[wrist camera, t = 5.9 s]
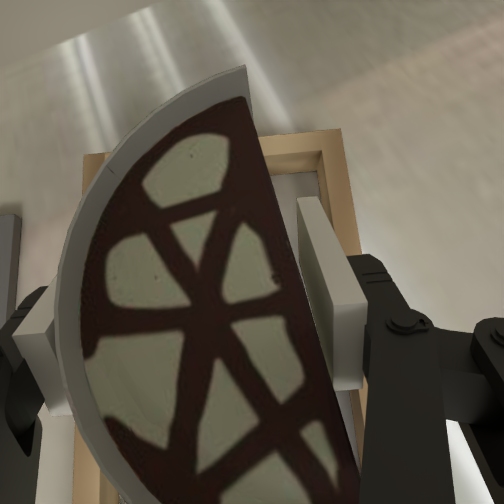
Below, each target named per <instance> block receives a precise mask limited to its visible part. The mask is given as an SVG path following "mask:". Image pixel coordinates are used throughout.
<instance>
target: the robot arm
mask: <svg viewBox="0 0 504 504" xmlns="http://www.w3.org/2000/svg"><path fill="white" fill-rule="evenodd" d="M296 199H297V222H298V245H299V263H300V267H301V270H302V274H303V278H304V282H305V286H306V289H307V293H308V297H309V301H310V305H311V308H312V312H313V316H314V320H315V324H316V327H317V331H318V335H319V339H320V343H321V346H322V350H323V354H324V358H325V361H326V365H327V368H328V371H329V374H330V378H331V381H332V384H333V387H334V391H342V390H353V389H363V378H364V376H365V378H366V381H367V384H368V392H367V405H366V417H365V430H364V442H363V455H362V468H361V480H360V493H359V504H456V503H455V494H454V486H453V478H452V469H451V461H450V452H449V444H448V435H447V427H446V419H447V420H452V421H458V423H459V425H460V428H461V430H462V432H463V434H464V437H465V439H466V441H467V443H468V446H469V448H470V450H471V452H472V454H473V457H474V459H475V461H476V463H477V466H478V468H479V470H480V472H481V475H482V477H483V479H484V481H485V484H486V486H487V488H488V490H489V493H490V495H491V497H492V499H493V502H494V504H504V318H497V317H494V318H488V319H483V320H482V321H480V322H478V323H477V324H476V326H475V329H474V332H473V333H466V332H458V331H450V330H445V329H440V328H437V327H434V325H433V323H432V321H431V320H430V319H429V318H428V317H427V316H426V315H424V314H423V313H420V312H418V311H416V310H414V309H410V307H409V305H408V304H407V302H406V301H405V299H404V297H403V296H402V294H401V293H400V291H399V289H398V288H397V286H396V284H395V283H394V282H393V281H392V278H391V276H390V275H389V273H387V270H386V268H385V267H384V265H383V263H382V262H381V261H380V260H378V259H377V258H375V257H373V256H372V255H370V254H362V255H352V256H345V253H344V251H343V249H342V247H341V245H340V243H339V241H338V239H337V237H336V235H335V232H334V230H333V228H332V226H331V224H330V222H329V220H328V218H327V216H326V214H325V211H324V209H323V207H322V205H321V203H320V201H319V199H318V197H317V196H311V197H301V198H296ZM56 282H57V275H56V277H55V278H54V279H53V281H52V282H51V284H50V285H49V286H43V287H39V288H38V289H36V290H35V291H34V292H32V293H31V294H30V295H28V296H27V297H26V298H25V299H24V300H23V301H22V303H21V304H20V305H19V306H18V308H17V310H15V312H14V313H13V314H12V315H11V317H10V319H9V320H7V322H6V323H5V324H4V325H3V327H2V328H1V329H0V504H35V498H36V488H37V478H38V469H39V459H40V449H41V439H42V424H41V421H40V419H39V417H38V415H37V414H38V412H39V411H40V409H41V407H42V405H43V403H44V402H45V404H46V406H47V408H48V410H49V412H50V414H51V416H52V417H54V416H65V415H73V414H72V411H71V408H70V406H69V403H68V400H67V398H66V395H65V392H64V389H63V384H62V379H61V374H60V369H59V364H58V359H57V354H56V348H55V325H54V300H55V291H56Z"/></svg>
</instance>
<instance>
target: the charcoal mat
mask: <svg viewBox="0 0 504 504" xmlns="http://www.w3.org/2000/svg"><path fill="white" fill-rule="evenodd" d="M21 222H22V218H20V217H18V216H17V215H15V214H12V215H2V216H0V329H1V328H2V327H3V325H4V324H5V323H6V322H7V320H9V319H10V317H11V315H12V314H13V313H14V312H15V301H16V288H17V275H18V262H19V248H20V235H21Z"/></svg>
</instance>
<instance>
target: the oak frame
mask: <svg viewBox="0 0 504 504" xmlns="http://www.w3.org/2000/svg"><path fill="white" fill-rule="evenodd" d="M258 139H259V142H260V145H261V148H262V152H263V155H264V158H265V162H266V165H267V168H268V172H269V175H279V174H288V173H298V172H308V171H317V174H318V181H319V188H320V195H321V202H322V207H323V209H324V211H325V214H326V216H327V218H328V220H329V222H330V224H331V226H332V228H333V230H334V232H335V235H336V237H337V239H338V241H339V243H340V245H341V247H342V249H343V251H344V253H345V256H352V255H362V251H361V246H360V240H359V234H358V228H357V222H356V216H355V210H354V205H353V199H352V193H351V187H350V181H349V175H348V170H347V164H346V158H345V152H344V146H343V140H342V134H341V129H331V130H322V131H312V132H302V133H293V134H283V135H273V136H263V137H258ZM111 153H112V152H108V153H98V154H88V155H84V160H83V191H82V197H83V195H84V193H85V191H86V190H87V188H88V186H89V185H90V183H91V182H92V180H93V178H94V177H95V175H96V173H97V172H98V170H99V169H100V167H101V165H102V164H103V162H104V161H105V160H106V159H107V158H108V156H109V155H110V154H111ZM349 391H350V398H351V405H352V412H353V419H354V425H355V432H356V439H357V446H358V452H359V459H360V466H361V468H362V455H363V442H364V430H365V417H366V405H367V392H368V384H367V381H366V378H365V376H364V378H363V389H353V390H349ZM72 504H119V493H118V491H117V490H116V489H115V488H114V487H113V485H112V484H111V483H110V482H109V480H108V479H107V478H106V477H105V475H104V474H103V473H102V471H101V470H100V468H99V466H98V464H97V463H96V461H95V459H94V457H93V455H92V454H91V452H90V450H89V448H88V447H87V445H86V443H85V441H84V440H83V438H82V436H81V434H80V433H79V430H78V427H77V425H76V422H75V440H74V471H73V502H72Z"/></svg>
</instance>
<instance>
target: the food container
mask: <svg viewBox="0 0 504 504" xmlns="http://www.w3.org/2000/svg"><path fill="white" fill-rule="evenodd" d="M54 325H55V348H56V354H57V359H58V364H59V369H60V374H61V379H62V384H63V389H64V392H65V395H66V398H67V400H68V403H69V406H70V408H71V411H72V414H73V417H74V419H75V422H76V425H77V427H78V430H79V433H80V434H81V436H82V438H83V440H84V441H85V443H86V445H87V447H88V448H89V450H90V452H91V454H92V455H93V457H94V459H95V461H96V463H97V464H98V466H99V468H100V470H101V471H102V473H103V474H104V475H105V477H106V478H107V479H108V480H109V482H110V483H111V484H112V485H113V487H114V488H115V489H116V490H117V491H118V493H119V494H120V495H121V496H122V498H123V499H124V500H125V501H126V503H127V504H359V493H360V480H361V477H360V474H359V471H358V468H357V465H356V461H355V458H354V455H353V451H352V448H351V444H350V441H349V438H348V434H347V431H346V427H345V424H344V421H343V417H342V414H341V410H340V407H339V404H338V401H337V397H336V394H335V391H334V387H333V384H332V381H331V378H330V374H329V371H328V368H327V365H326V361H325V358H324V354H323V351H322V348H321V344H320V341H319V337H318V334H317V330H316V327H315V323H314V320H313V316H312V313H311V310H310V306H309V303H308V299H307V296H306V292H305V289H304V285H303V282H302V279H301V276H300V273H299V270H298V266H297V263H296V260H295V257H294V254H293V251H292V248H291V245H290V241H289V238H288V235H287V232H286V229H285V225H284V222H283V218H282V215H281V212H280V208H279V205H278V201H277V198H276V195H275V191H274V188H273V185H272V181H271V178H270V175H269V172H268V168H267V165H266V162H265V158H264V155H263V152H262V148H261V145H260V142H259V139H258V135H257V132H256V129H255V126H254V121H253V113H252V106H251V99H250V92H249V84H248V77H247V70H246V65H242V66H239V67H236V68H234V69H231V70H228V71H225V72H222V73H219V74H216V75H214V76H212V77H210V78H208V79H206V80H204V81H202V82H200V83H197V84H195V85H193V86H191V87H189V88H187V89H185V90H183V91H182V92H180V93H179V94H177V95H176V96H174V97H173V98H171V99H170V100H168V101H167V102H166V103H164V104H163V105H161V106H160V107H158V108H157V109H155V110H154V111H152V112H151V113H150V114H149V115H148V116H147V117H146V118H145V119H144V120H143V121H141V122H140V123H139V124H138V125H137V126H136V127H135V128H134V129H133V130H131V131H130V132H129V133H128V134H127V135H126V136H125V137H124V138H123V140H122V141H121V142H120V143H119V144H118V146H117V147H116V148H115V149H114V150H113V152H112V153H111V154H110V155H109V156H108V158H107V159H106V160H105V161H104V162H103V164H102V165H101V167H100V169H99V170H98V172H97V173H96V175H95V177H94V178H93V180H92V182H91V183H90V185H89V186H88V188H87V190H86V191H85V193H84V195H83V197H82V199H81V201H80V204H79V206H78V208H77V211H76V213H75V215H74V217H73V220H72V222H71V224H70V227H69V229H68V232H67V236H66V240H65V244H64V247H63V251H62V255H61V259H60V262H59V266H58V273H57V282H56V291H55V300H54Z"/></svg>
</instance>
